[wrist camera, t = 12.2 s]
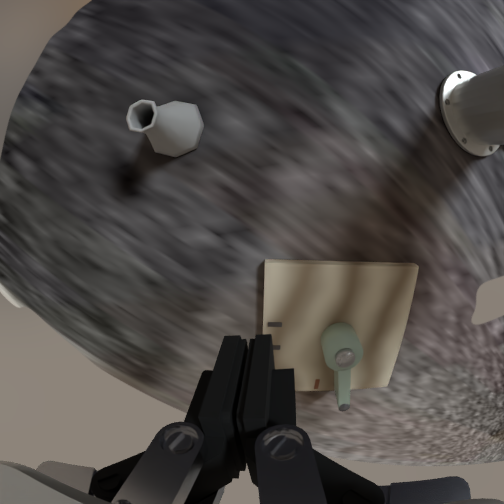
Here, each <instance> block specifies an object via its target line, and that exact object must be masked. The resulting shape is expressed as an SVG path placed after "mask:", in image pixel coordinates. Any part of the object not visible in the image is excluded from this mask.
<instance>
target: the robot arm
mask: <svg viewBox="0 0 504 504" xmlns="http://www.w3.org/2000/svg"><path fill="white" fill-rule="evenodd" d="M439 98H440V108H441V113H442V117H443V120H444V123H445V125H446V127H447V129H448V131H449V133H450V134H451V136H452V138H453V139H454V140H455V141H456V143H457V144H458V145H459V146H460V147H461V148H462V149H463V150H465V151H466V152H468V153H470V154H472V155H474V156H488V155H491V154H493V153H494V152H495V151H496V150H497V149H498V148H499V146H500V145H504V65H503V66H500V67H498V68H495V69H492V70H489V71H487V72H484V73H481V74H479V75H475V74H474V73H472V72H469V71H464V70H459V71H455V72H453V73H451V74H449V75H448V76H447V77H446V78H445V79H444V81H443V82H442V85H441V88H440V95H439ZM246 463H247V465H248V469H249V473H250V476H251V480H252V482H253V483H254V484H255V485H256V486H257V487H258V490H259V499H260V504H504V502H503V501H500V500H496V499H483V498H482V499H471V496H470V488H469V485H468V483H467V482H466V481H465V480H464V479H463V478H460V477H457V476H456V477H445V478H438V479H430V480H422V481H412V482H402V483H401V482H400V483H391V484H390V486H377V485H376V484H375V483H373V482H371V481H369V480H367V479H365V478H363V477H361V476H359V475H358V474H356V473H354V472H352V471H350V470H348V469H347V468H345V467H343V466H341V465H339V464H338V463H336V462H334V461H332V460H331V459H329V458H327V457H326V456H324V455H322V454H321V453H319V452H317V451H316V450H314V449H312V445H311V442H310V438H309V436H308V435H307V433H306V432H305V431H304V430H303V429H301V428H299V427H297V426H296V403H295V377H294V368H289V369H275V363H274V353H273V342H272V335H271V334H262V335H256V337H255V339H250V343H249V348H248V346H247V341H246V339H241V336H240V335H239V336H224V339H223V342H222V345H221V348H220V351H219V354H218V357H217V360H216V363H215V366H214V369H213V371H210V370H205V371H203V373H202V375H201V377H200V380H199V383H198V385H197V388H196V391H195V393H194V396H193V399H192V401H191V404H190V407H189V410H188V412H187V415H186V418H185V420H184V422H175V423H171V424H169V425H167V426H165V427H163V428H162V429H161V430H160V431H159V432H158V433H157V434H156V436H155V437H154V439H153V440H152V442H151V444H150V445H149V446H148V448H147V450H146V451H144V452H142V453H139V454H137V455H135V456H132V457H130V458H127V459H125V460H123V461H120V462H118V463H115V464H112V465H110V466H107V467H105V468H103V469H101V470H99V471H96V470H95V468H91V467H84V466H77V465H71V464H65V463H60V462H55V461H46V462H43V463H42V464H40V465H39V466H38V468H37V469H36V470H35V469H32V468H30V467H27V466H24V465H21V464H18V463H13V462H7V461H0V504H219V503H220V500H221V498H222V495H223V493H224V488H225V485H227V484H229V483H230V482H232V478H239V472H240V471H245V469H246Z"/></svg>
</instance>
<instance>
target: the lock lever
mask: <svg viewBox="0 0 504 504" xmlns="http://www.w3.org/2000/svg"><path fill="white" fill-rule="evenodd" d="M321 345H322V350H323V354H324V358H325V362H326V364H327V366H328V367H329V368H331V369H332V370H334V390H335V395H336V399H337V404H338V408H339V410H340V411H346V410H348V409H349V407H350V384H351V368H353V367H355V366H356V365H357V364H358V363H359V362H360V361H361V359H362V357H363V348H362V345H361V343H360V341H359V338H358V336H357V334H356V332H355V330H354V328H353V327H352V326H351V325H349V324H347V323H343V322H340V323H335V324H332V325H330V326H329V327H327V328H326V329H325V330H324V332H323V333H322V335H321Z"/></svg>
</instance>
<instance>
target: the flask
mask: <svg viewBox="0 0 504 504" xmlns="http://www.w3.org/2000/svg"><path fill="white" fill-rule="evenodd" d="M126 120H127V123H128V127H129V130H130V131H135V132H140V133H143V132H144V133H145V134H146V135H147V137H148V138H149V140H150V142H151V144H152V147H153V149H154V151H155V152H156V153H160V154H164V155H168V156H172V157H178V156H180V155H183V154H185V153H187V152H189V151H192V150H194V149H197V148H198V144H199V141H200V138H201V134H202V131H203V128H204V123H203V121H202V118H201V115H200V113H199V110H198V107H197V105H194V104H189V103H184V102H179V101H173V102H170V103H168V104H165V105H161V106H158V107H156V105H155V102H153V101H147V100H140V101H138V102H136V103H134V104H133V105H131V106H130V107H129V111H128V114H127V117H126Z"/></svg>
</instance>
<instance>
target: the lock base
mask: <svg viewBox="0 0 504 504" xmlns="http://www.w3.org/2000/svg"><path fill="white" fill-rule="evenodd" d="M418 269H419V266H418V265H416V264H415V263H392V262H352V261H316V260H282V259H265V276H264V311H263V334H271V335H272V342H273V353H274V363H275V369H289V368H294V377H295V391H330V390H334V370H332V369H331V368H329V367H328V366H327V364H326V362H325V358H324V354H323V350H322V345H321V335H322V333H323V332H324V330H325V329H326V328H327V327H329V326H330V325H332V324H335V323H340V322H343V323H347V324H349V325H351V326H352V327H353V328H354V330H355V332H356V334H357V336H358V338H359V341H360V343H361V345H362V348H363V357H362V359H361V361H360V362H359V363H358V364H357V365H356V366H355V367H353V368H351V384H350V389H364V388H376V387H386V386H387V385H388V383H389V380H390V377H391V374H392V371H393V368H394V365H395V362H396V359H397V356H398V352H399V349H400V346H401V342H402V339H403V335H404V331H405V328H406V324H407V320H408V316H409V312H410V308H411V303H412V299H413V294H414V290H415V285H416V280H417V275H418Z"/></svg>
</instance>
